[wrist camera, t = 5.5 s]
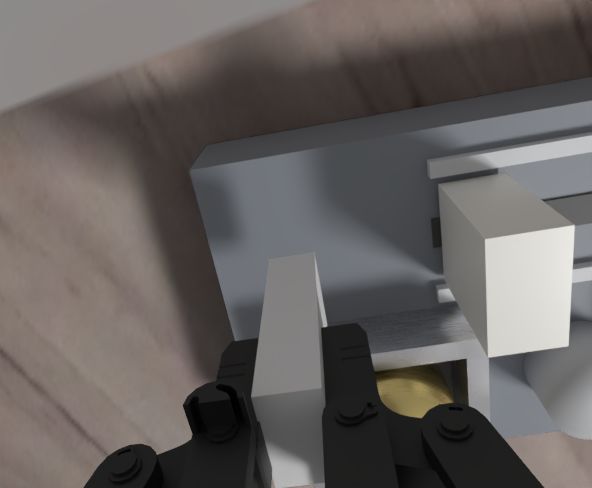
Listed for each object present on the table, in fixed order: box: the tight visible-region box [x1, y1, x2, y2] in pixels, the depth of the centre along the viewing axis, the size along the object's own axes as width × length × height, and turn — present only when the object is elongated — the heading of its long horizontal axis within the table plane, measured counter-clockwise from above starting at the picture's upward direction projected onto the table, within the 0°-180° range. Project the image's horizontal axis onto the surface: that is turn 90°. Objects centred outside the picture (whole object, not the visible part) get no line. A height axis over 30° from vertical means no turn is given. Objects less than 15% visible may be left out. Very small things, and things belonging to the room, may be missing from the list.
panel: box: [189, 77, 592, 439], centre depth 21 cm, size 24×15×6 cm, turn 100°
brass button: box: [375, 363, 454, 418], centre depth 21 cm, size 5×5×3 cm
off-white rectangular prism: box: [438, 173, 575, 358], centre depth 17 cm, size 2×4×5 cm, turn 10°
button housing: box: [314, 304, 490, 488], centre depth 21 cm, size 7×7×2 cm
